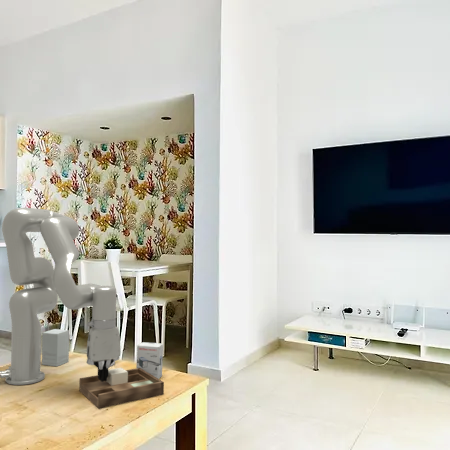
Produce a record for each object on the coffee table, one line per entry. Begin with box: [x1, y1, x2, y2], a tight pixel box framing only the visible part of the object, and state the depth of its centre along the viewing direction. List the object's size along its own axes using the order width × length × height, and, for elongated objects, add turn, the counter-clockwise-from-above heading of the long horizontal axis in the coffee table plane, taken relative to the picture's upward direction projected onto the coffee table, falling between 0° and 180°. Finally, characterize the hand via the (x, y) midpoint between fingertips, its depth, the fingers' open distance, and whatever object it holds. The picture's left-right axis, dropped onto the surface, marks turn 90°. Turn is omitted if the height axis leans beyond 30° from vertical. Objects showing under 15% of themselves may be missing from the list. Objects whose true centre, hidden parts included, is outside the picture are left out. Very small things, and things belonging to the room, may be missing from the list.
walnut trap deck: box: [78, 367, 165, 410], centre depth 147 cm, size 22×18×4 cm
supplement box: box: [41, 328, 70, 367], centre depth 177 cm, size 7×7×13 cm
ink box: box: [135, 342, 164, 379], centre depth 163 cm, size 9×5×12 cm, turn 81°
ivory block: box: [107, 367, 128, 385], centre depth 150 cm, size 6×6×4 cm
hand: (102, 380), depth 147 cm, fingers closed
